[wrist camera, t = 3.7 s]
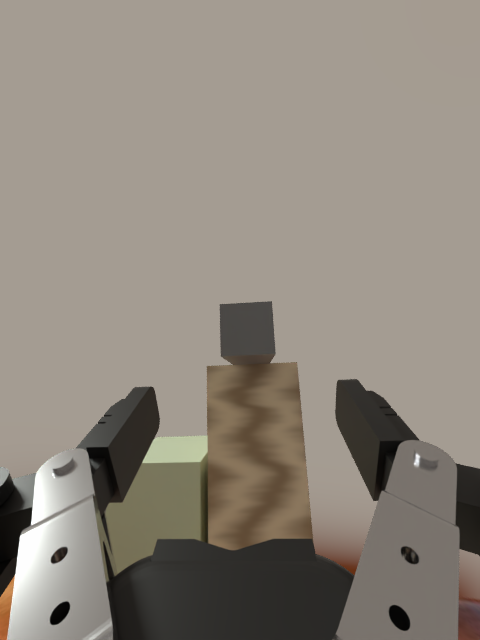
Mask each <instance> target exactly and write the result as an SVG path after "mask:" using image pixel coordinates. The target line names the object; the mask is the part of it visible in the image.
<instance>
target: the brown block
mask: <svg viewBox="0 0 480 640" xmlns="http://www.w3.org/2000/svg"><path fill="white" fill-rule="evenodd" d="M207 427H208V428H207V440H208V543H209V544H212V545H215V546H218V547H222V548H225V549H228V550H238V549H241V548H244V547H248V546H251V545H254V544H257V543H261V542H264V541H267V540H271V539H312V540H313V534H312V525H311V512H310V502H309V491H308V479H307V469H306V468H307V467H306V456H305V446H304V436H303V423H302V412H301V401H300V391H299V379H298V368H297V362H291V363H268V364H245V365H223V366H207Z"/></svg>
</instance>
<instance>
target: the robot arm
mask: <svg viewBox="0 0 480 640" xmlns="http://www.w3.org/2000/svg"><path fill="white" fill-rule="evenodd" d="M336 390H337V391H336V410H335V413H336V421H337V424H338V427H339V429H340V432H341V434H342V436H343V438H344V440H345V442H346V444H347V446H348V448H349V450H350V452H351V454H352V457H353V459H354V461H355V463H356V465H357V467H358V469H359V471H360V474H361V476H362V478H363V480H364V482H365V484H366V486H367V488H368V490H369V492H370V495H371V496H372V499H373V501H378V503H377V507H376V510H375V513H374V516H373V519H372V522H371V526H370V529H369V532H368V535H367V538H366V541H365V545H364V548H363V551H362V554H361V557H360V561H359V564H358V567H357V570H356V573H355V576H354V575H353V574H352V573H350V572H349V571H348V570H346V569H345V568H344V567H342V566H341V565H339V564H337V563H336V562H334V561H332V560H330V559H328V558H325V557H323V556H320V555H317V554H315V549H314V544H313V540H312V539H271V540H267V541H264V542H261V543H257V544H254V545H251V546H248V547H244V548H241V549H238V550H228V549H225V548H222V547H218V546H215V545H212V544H209V543H206V542H203V541H199V540H196V539H157V542H156V545H155V548H154V552H153V555H150V556H147V557H145V558H143V559H140V560H138V561H136V562H135V563H133V564H131V565H130V566H128V567H127V568H125V569H124V570H122V571H121V572H119V573H117V568H116V564H115V559H114V554H113V548H112V543H111V538H110V533H109V528H108V523H107V518H106V514H105V510H106V508H107V506H108V504H109V503H123V501H124V498H125V496H126V494H127V492H128V490H129V488H130V486H131V484H132V482H133V480H134V478H135V476H136V474H137V472H138V470H139V468H140V466H141V464H142V462H143V460H144V458H145V456H146V454H147V452H148V450H149V448H150V446H151V444H152V442H153V440H154V437H155V435H156V434H157V432H158V429H159V422H160V421H159V420H160V418H159V411H158V406H157V401H156V395H155V391H154V388H153V387H135V388H133V390H132V391H131V392H130V393H129V394H128V396H127V397H126V398H125V399H122V400H120V401H119V402H117V403H116V404H115V405H113V406H111V407H110V409H109V410H108V411H107V412H106V413H105V415H104V417H102V418H101V419H100V420H99V422H98V424H96V425H95V426H94V427H93V429H92V430H91V431H90V432H89V433H88V434H87V436H86V437H85V438H84V439H83V440H82V441H81V443H80V444H79V445H78V446H77V447H76V448H75V449H70V450H66V451H64V452H61V453H59V454H57V455H55V456H53V457H52V458H50V459H49V460H48V461H46V462H45V463H44V464H43V465H42V466H41V467H40V469H39V470H38V472H37V473H33V474H29V475H26V476H22V477H18V478H14V479H12V478H11V476H10V474H9V471H8V469H6V468H4V467H0V597H1V595H2V594H3V592H4V591H5V589H6V588H7V586H8V584H9V583H10V581H11V580H12V578H13V577H14V575H15V582H14V590H13V598H12V606H11V614H10V622H9V630H8V638H7V640H458V604H459V549H462V550H465V551H468V552H472V553H475V554H478V555H479V556H480V469H478V468H473V467H469V466H464V465H460V464H456V463H455V462H454V460H453V459H452V458H451V457H450V456H449V455H448V454H447V453H446V452H444V451H443V450H441V449H440V448H438V447H436V446H434V445H432V444H429V443H426V442H423V441H420V440H419V439H418V438H417V437H416V435H415V434H414V433H413V432H412V431H411V430H410V428H409V427H408V426H407V425H406V424H405V423H404V421H403V420H402V419H401V418H400V417H399V416H397V413H396V412H395V411H394V410H393V409H392V408H391V406H390V405H389V404H388V403H387V402H386V400H385V399H384V398H383V397H381V396H380V395H378V394H376V393H375V392H373V391H366V390H365V388H364V387H363V386H362V385H361V383H360V382H359V381H358V380H357V379H350V380H338V381H337V388H336Z"/></svg>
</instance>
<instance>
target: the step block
mask: <svg viewBox="0 0 480 640" xmlns="http://www.w3.org/2000/svg"><path fill="white" fill-rule="evenodd" d="M106 518H107V523H108V528H109V533H110V538H111V543H112V548H113V554H114V559H115V564H116V568H117V573H119V572H121V571H122V570H124V569H125V568H127V567H128V566H130V565H131V564H133V563H135V562H136V561H138V560H140V559H143V558H145V557H147V556H150V555H153V552H154V548H155V545H156V542H157V539H196V540H199V541H203V542H206V543H208V440H207V436H180V437H157V438H156V439H154V440H153V442H152V444H151V446H150V448H149V450H148V452H147V454H146V456H145V458H144V460H143V462H142V464H141V466H140V468H139V470H138V472H137V474H136V476H135V478H134V480H133V482H132V484H131V486H130V488H129V490H128V492H127V494H126V496H125V498H124V501H123V503H109V504H108V506H107V508H106Z"/></svg>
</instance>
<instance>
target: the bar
mask: <svg viewBox="0 0 480 640" xmlns="http://www.w3.org/2000/svg"><path fill="white" fill-rule="evenodd" d="M220 334H221V336H220V337H221V357H223V358H224V359H226V360H227V361H228V362H230V363H231V364H233V365H245V364H268V363H270V362H271V360H272V359H273V357H274V356H275V342H274V341H275V340H274V327H273V312H272V302H254V303H237V304H220Z"/></svg>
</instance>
